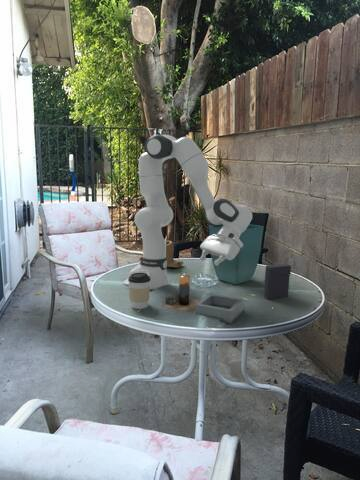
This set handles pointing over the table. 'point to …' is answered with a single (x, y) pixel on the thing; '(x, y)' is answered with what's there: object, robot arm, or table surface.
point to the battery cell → (184, 289)
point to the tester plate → (173, 302)
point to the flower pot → (240, 256)
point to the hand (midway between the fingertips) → (208, 262)
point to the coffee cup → (139, 290)
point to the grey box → (277, 281)
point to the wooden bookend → (171, 256)
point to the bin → (223, 313)
